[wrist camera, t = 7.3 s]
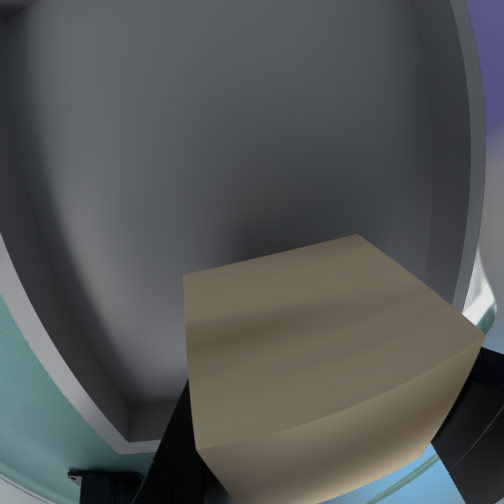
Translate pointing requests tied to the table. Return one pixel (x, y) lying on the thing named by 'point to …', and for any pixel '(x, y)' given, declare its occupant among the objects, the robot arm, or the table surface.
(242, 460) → the birch block
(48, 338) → the charcoal tray
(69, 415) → the table surface
